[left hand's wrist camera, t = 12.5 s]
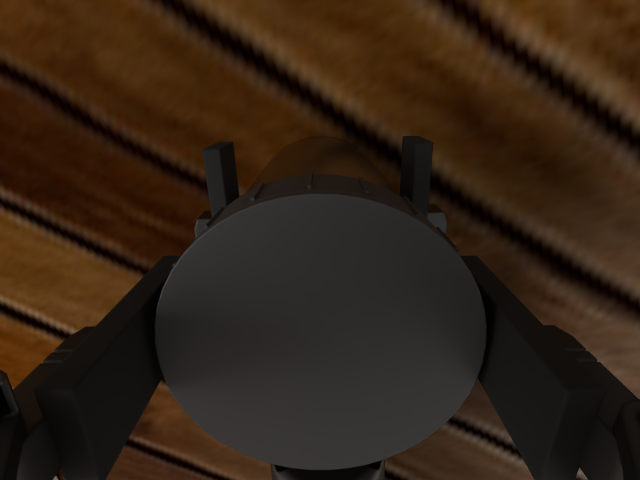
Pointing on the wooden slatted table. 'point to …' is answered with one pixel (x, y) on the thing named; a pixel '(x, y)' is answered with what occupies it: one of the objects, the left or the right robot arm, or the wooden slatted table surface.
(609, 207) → the wooden slatted table surface
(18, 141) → the wooden slatted table surface
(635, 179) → the wooden slatted table surface
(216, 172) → the right robot arm
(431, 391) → the lid
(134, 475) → the wooden slatted table surface
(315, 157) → the jar
